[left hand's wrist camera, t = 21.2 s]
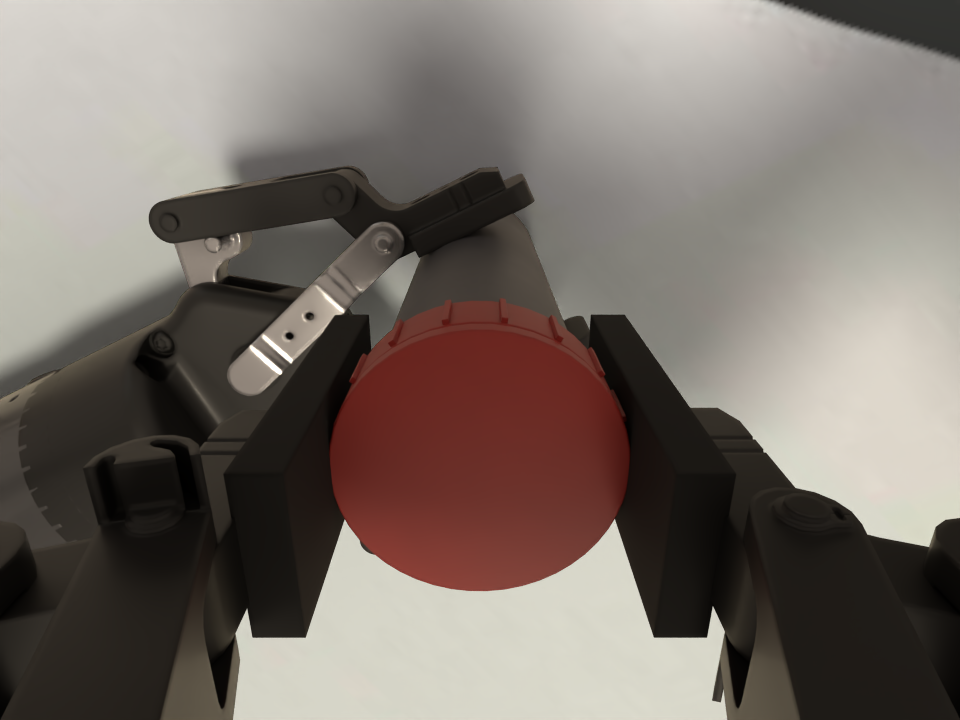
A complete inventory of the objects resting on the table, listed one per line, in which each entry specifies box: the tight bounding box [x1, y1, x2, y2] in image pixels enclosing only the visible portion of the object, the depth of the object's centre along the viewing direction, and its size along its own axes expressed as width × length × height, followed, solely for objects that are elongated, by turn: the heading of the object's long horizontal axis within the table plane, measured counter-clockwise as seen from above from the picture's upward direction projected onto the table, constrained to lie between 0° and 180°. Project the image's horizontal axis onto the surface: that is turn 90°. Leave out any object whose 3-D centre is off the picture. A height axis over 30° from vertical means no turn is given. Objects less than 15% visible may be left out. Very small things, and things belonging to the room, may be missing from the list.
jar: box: [392, 214, 567, 330], centre depth 18 cm, size 4×4×16 cm
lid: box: [329, 298, 630, 591], centre depth 11 cm, size 5×5×2 cm
